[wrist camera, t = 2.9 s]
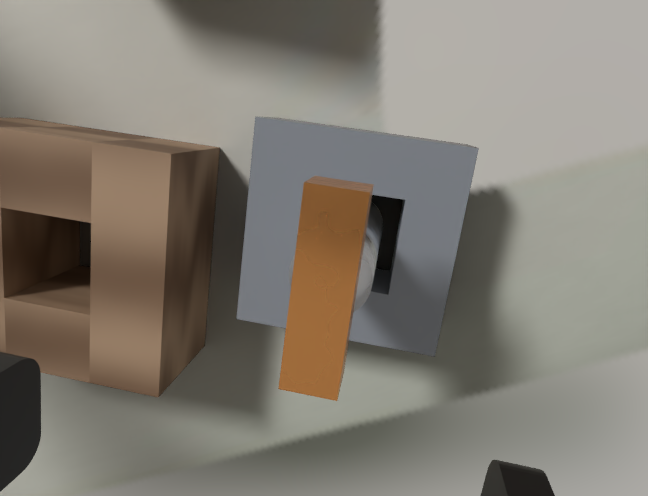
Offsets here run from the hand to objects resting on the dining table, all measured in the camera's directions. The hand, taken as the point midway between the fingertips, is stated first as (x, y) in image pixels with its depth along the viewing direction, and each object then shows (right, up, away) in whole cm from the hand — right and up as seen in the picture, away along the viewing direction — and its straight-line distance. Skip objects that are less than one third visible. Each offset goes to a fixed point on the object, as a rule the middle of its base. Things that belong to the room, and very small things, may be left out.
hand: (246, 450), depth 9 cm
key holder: (+3, +5, +19) cm, 19 cm away
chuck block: (-11, +4, +21) cm, 24 cm away
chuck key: (+3, +5, +19) cm, 20 cm away
